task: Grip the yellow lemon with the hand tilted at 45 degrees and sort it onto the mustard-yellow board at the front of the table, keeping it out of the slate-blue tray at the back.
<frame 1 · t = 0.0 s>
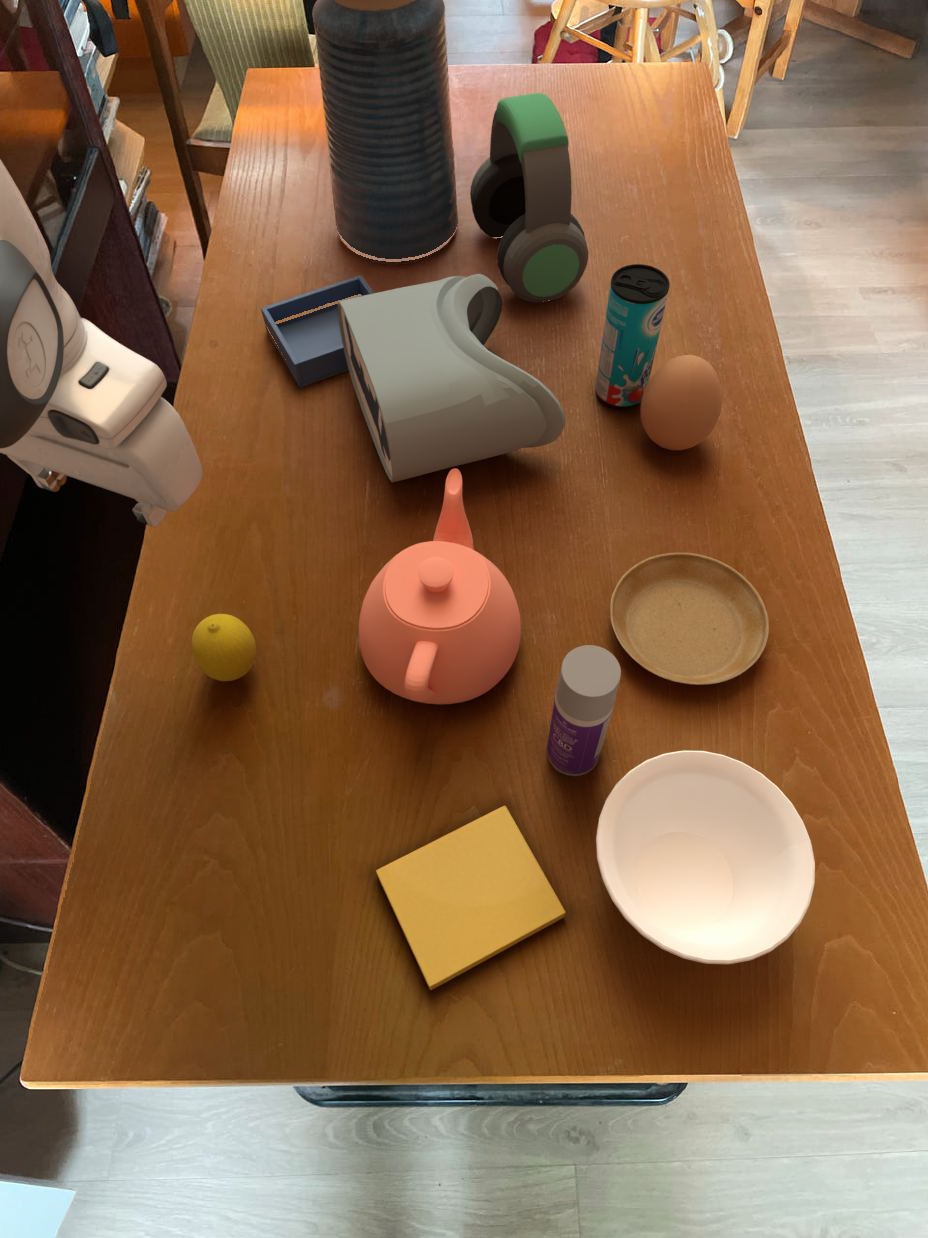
hand: (103, 501, 69), 19 cm above the table, tool pointing down, fingers open, 8 cm apart
plant saucer: (683, 630, 85), on the table
beverage can: (619, 394, 102), on the table
egg: (671, 441, 98), on the table
container: (572, 752, 78), on the table
bowl: (681, 882, 72), on the table
lemon: (235, 670, 83), on the table
headphones: (525, 264, 115), on the table
yellow board: (469, 896, 71), on the table
teapot: (442, 638, 85), on the table
blue tray: (333, 341, 107), on the table
vase: (398, 231, 119), on the table
virtual reality goggles: (450, 416, 100), on the table
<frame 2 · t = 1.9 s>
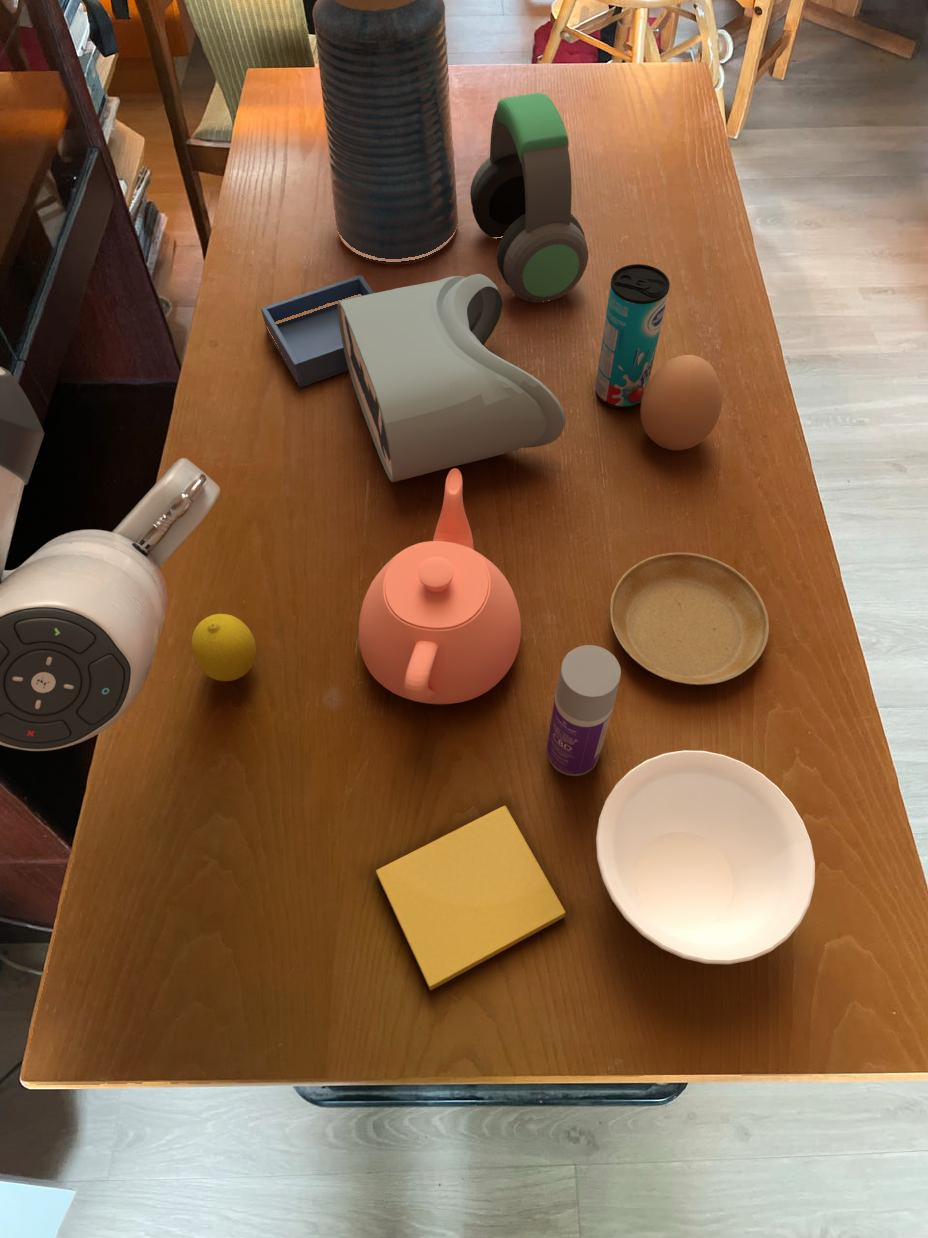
hand: (117, 562, 68), 18 cm above the table, tool tilted 50°, fingers open, 8 cm apart
nothing on the table moved.
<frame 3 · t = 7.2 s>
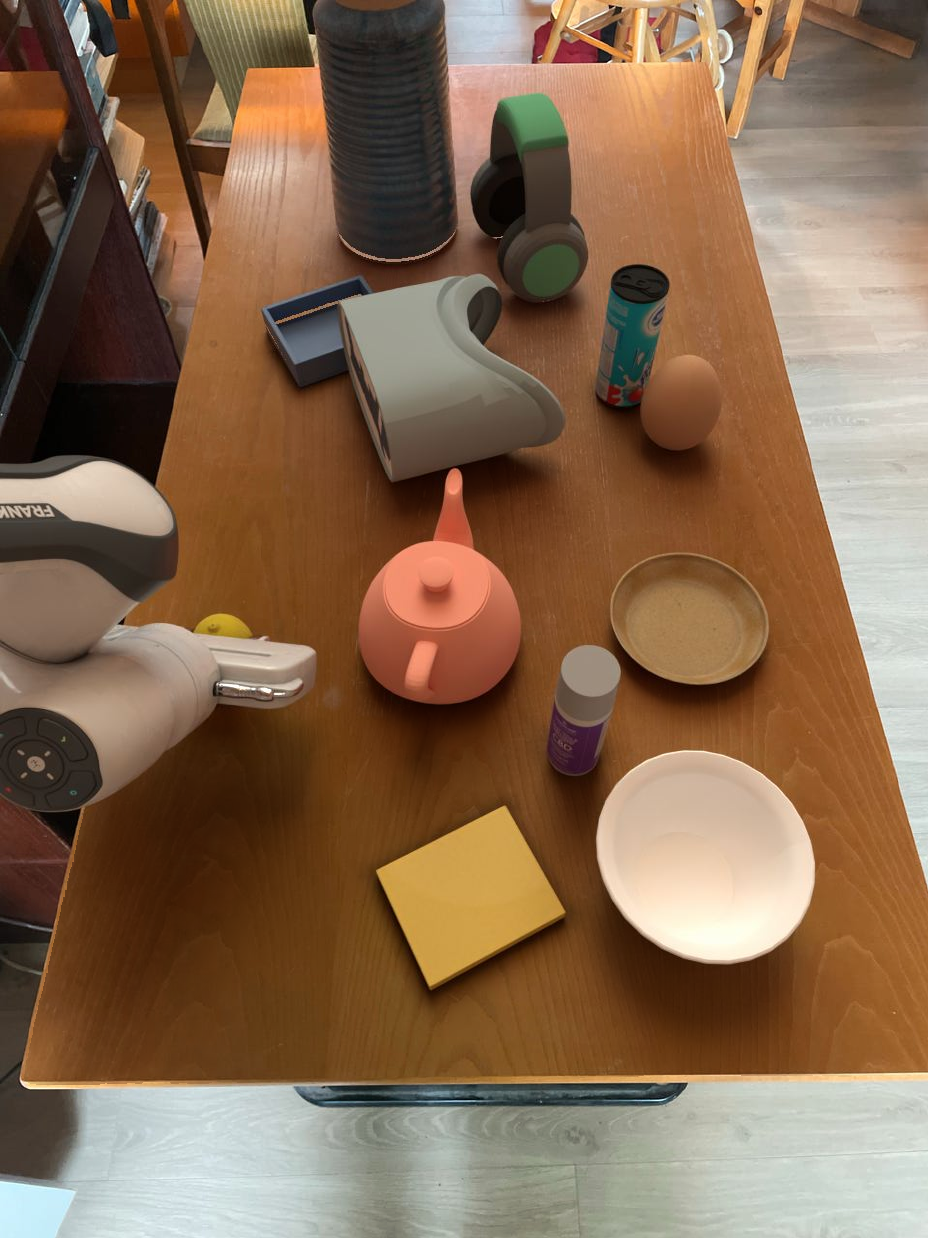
hand: (224, 639, 80), 4 cm above the table, tool tilted 45°, fingers closed on lemon, 5 cm apart
lemon: (235, 670, 83), on the table, touching gripper
everything else where it was.
when the fingers open (6 cm above the table, at t = 16.9 s): lemon stays where it is, resting on yellow board.
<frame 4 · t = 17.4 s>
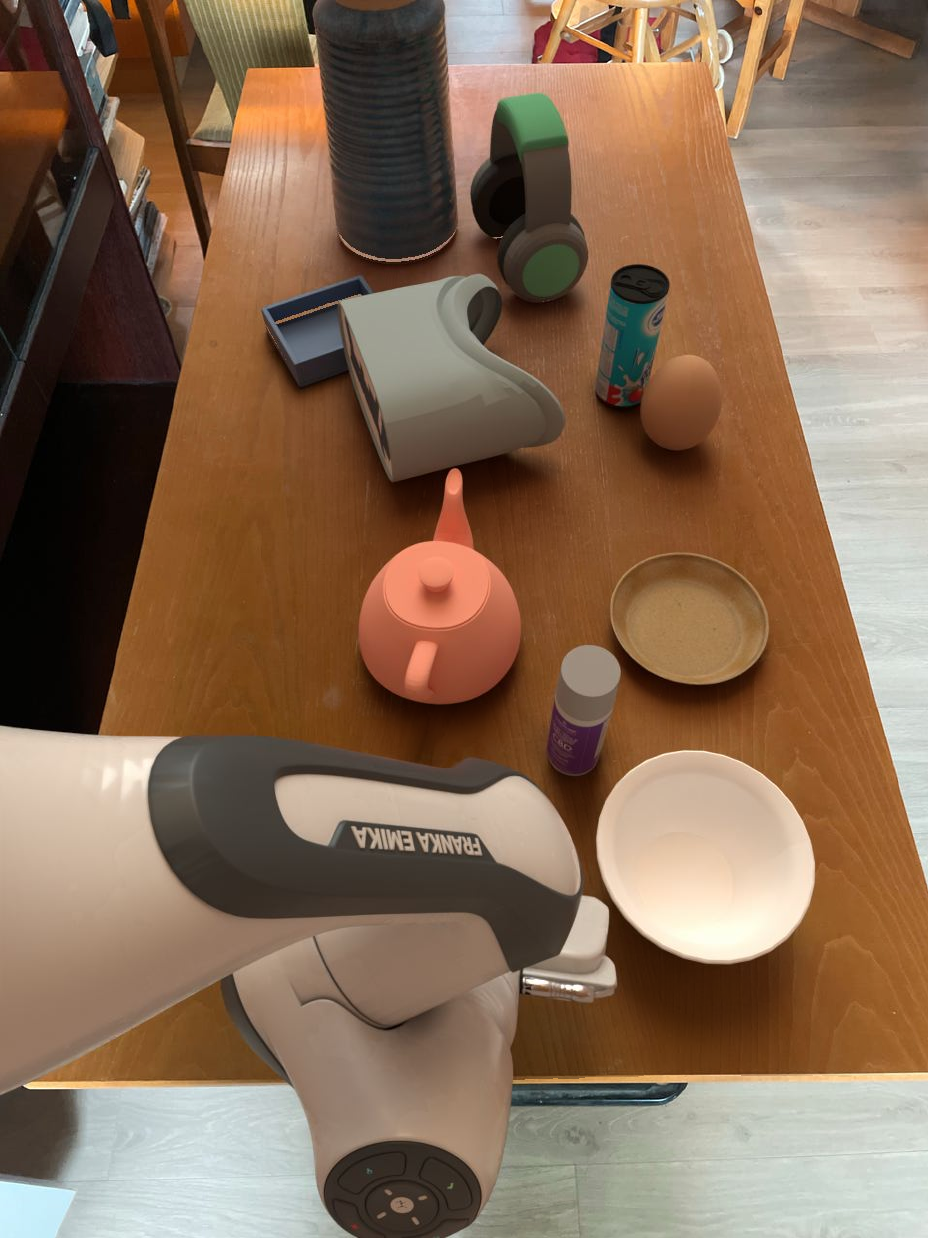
hand: (469, 867, 67), 6 cm above the table, tool tilted 45°, fingers open, 8 cm apart
lemon: (469, 891, 70), point 1 cm above the table, touching yellow board
everything else where it was.
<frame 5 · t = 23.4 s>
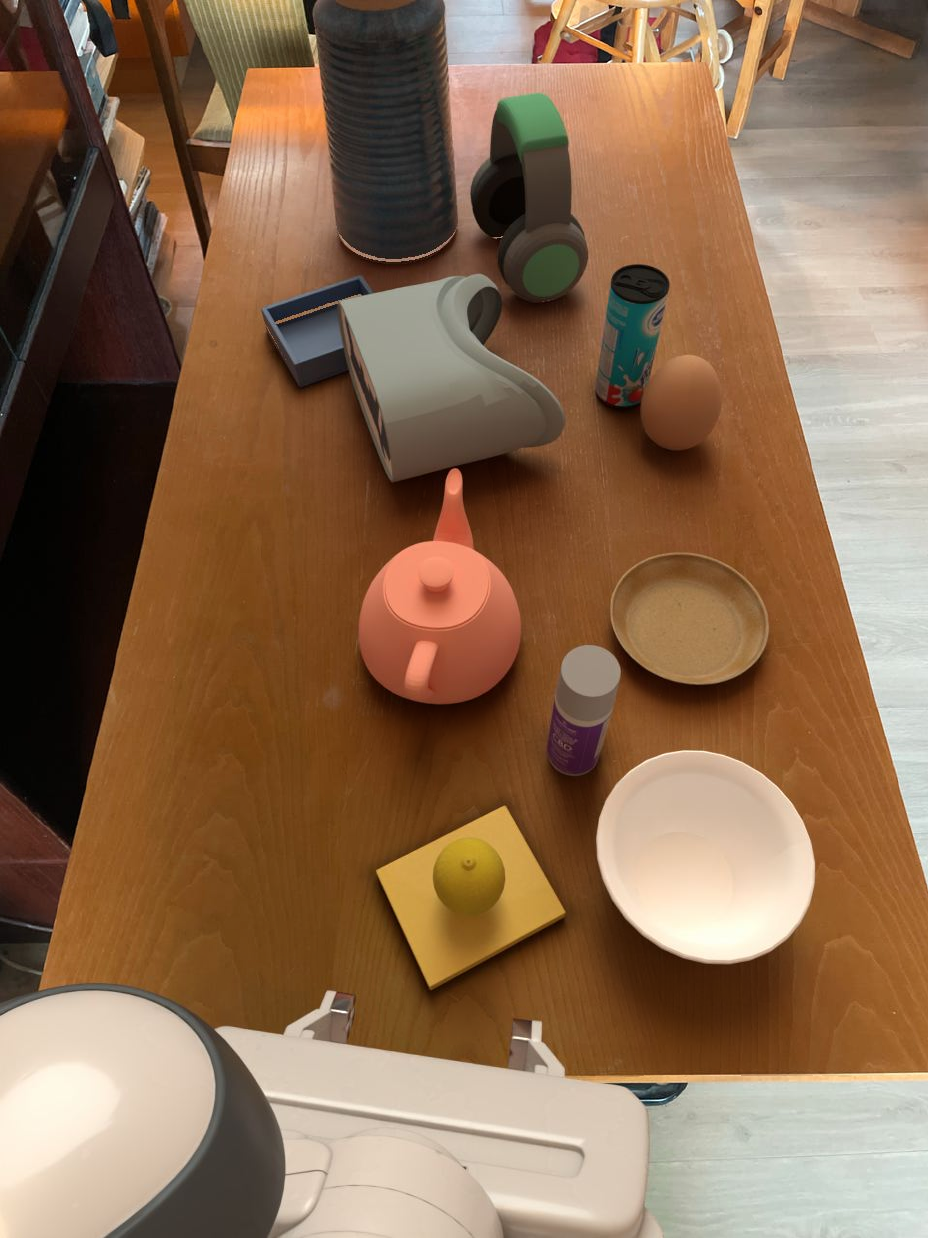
hand: (432, 1017, 44), 24 cm above the table, tool tilted 45°, fingers open, 8 cm apart
nothing on the table moved.
at the end: lemon inside the target area on the yellow board (0.0 cm from its centre), point 1.3 cm above the yellow board's base; lemon touching yellow board; the gripper is holding nothing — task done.
